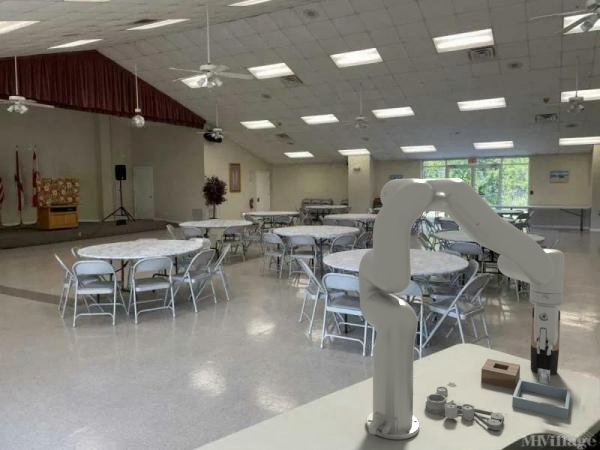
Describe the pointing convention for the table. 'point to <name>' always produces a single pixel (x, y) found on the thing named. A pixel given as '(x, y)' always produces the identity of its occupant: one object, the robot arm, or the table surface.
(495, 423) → the pulley system
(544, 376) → the lock pin
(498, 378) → the block
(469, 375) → the table surface
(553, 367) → the travel mug
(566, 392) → the pin tray
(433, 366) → the table surface
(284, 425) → the table surface
